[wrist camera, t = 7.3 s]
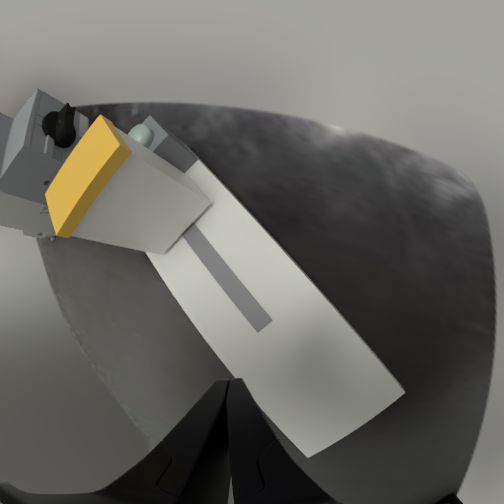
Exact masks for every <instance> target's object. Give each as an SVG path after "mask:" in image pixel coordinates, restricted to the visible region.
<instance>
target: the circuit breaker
mask: <svg viewBox="0 0 504 504" xmlns="http://www.w3.org/2000/svg"><path fill="white" fill-rule="evenodd" d="M88 129H89V119H88V118H87V117H85V116H83V115H82V114H80V113H78V112H77V111H75V107H73V108H72V107H70V105H69V103H67V104H66V105H65V104H63V103H62V102H60V101H58V100H57V99H55V98H53V97H52V96H50V95H48V94H47V93H45V92H42V91H41V90H39V89H37V90H36V91H35V92H34V93H33V95H32V96H31V97H30V98H29V100H28V101H27V102H26V103H25V105H24V106H23V108H22V109H21V110H20V111H19V113H18V114H17V116H16V117H15V118H14V119H13V118H10V117H9V116H6V115H4V114H2V113H0V225H1V226H5V227H10V228H14V229H19V230H23V234H24V235H27V236H32V237H37V238H42V239H44V238H45V237H51V240H52V241H53V240H55V236H56V233H55V230H54V226H53V223H52V220H51V216H50V212H49V209H48V205H47V201H46V197H45V193H46V192H47V190H48V188H49V187H50V185H51V183H52V182H53V180H54V178H55V177H56V175H57V174H58V172H59V170H60V169H61V167H62V166H63V164H64V163H65V161H66V160H67V158H68V157H69V155H70V154H71V152H72V151H73V150H74V148H75V147H76V145H77V144H78V143H79V141H80V140H81V139H82V137H83V136H84V135H85V133H86V132H87V131H88ZM40 232H42V233H43V234H42V235H41V234H39V233H40Z"/></svg>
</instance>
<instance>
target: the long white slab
mask: <svg viewBox="0 0 504 504" xmlns="http://www.w3.org/2000/svg"><path fill="white" fill-rule="evenodd" d="M128 136H130V137H131V138H133V139H134V140H136V141H137V142H139V143H140V144H142V145H143V146H145V147H146V148H148V149H149V150H151V151H152V152H154V153H155V154H157V155H158V156H160V157H161V158H162V159H164V160H165V161H167V162H168V163H170V164H171V165H173V166H174V167H176V168H177V169H179V170H180V171H182V172H183V173H184V174H186V175H187V176H189V178H190V179H191V180H192V181H193V182H194V183H195V185H196V186H197V187H198V188H199V189H200V190H201V191H202V193H203V194H204V195H205V196H206V197H207V198H208V200H209V201H210V202H211V204H210V205H209V206H208V207H207V208H206V209H205V210H204V211H203V212H202V213H201V214H200V215H199V216H198V217H197V218H196V219H195V220H194V222H193V223H192V224H191V225H190V226H189V227H188V228H187V229H186V230H185V231H184V232H183V233H182V234H181V235H180V236H179V237H178V238H177V240H176V241H175V242H174V243H173V244H172V245H171V246H170V247H169V248H168V249H167V250H166V251H165V253H164V254H163V255H160V254H155V253H150V252H146V254H147V255H148V257H149V259H150V260H151V262H152V263H153V265H154V266H155V268H156V270H157V271H158V273H159V274H160V276H161V277H162V279H163V280H164V282H165V283H166V285H167V286H168V288H169V289H170V291H171V292H172V294H173V295H174V297H175V298H176V300H177V301H178V303H179V304H180V305H181V307H182V308H183V310H184V311H185V313H186V314H187V315H188V317H189V318H190V320H191V321H192V322H193V324H194V325H195V327H196V328H197V329H198V331H199V332H200V333H201V335H202V336H203V337H204V339H205V340H206V341H207V343H208V344H209V345H210V347H211V348H212V349H213V351H214V352H215V353H216V354H217V356H218V357H219V358H220V360H221V361H222V362H223V363H224V365H225V366H226V367H227V368H228V370H229V371H230V372H231V373H232V375H233V376H234V377H235V378H242V379H243V380H244V382H245V384H246V386H247V387H248V389H249V391H250V393H251V394H252V396H253V398H254V400H255V401H256V403H257V404H258V405H259V407H260V408H261V409H262V410H263V411H264V412H265V413H266V415H267V416H268V417H269V418H270V419H271V420H272V421H273V422H274V423H275V424H276V426H277V427H278V428H279V429H280V430H281V431H282V432H283V433H284V434H285V435H286V436H287V437H288V438H289V439H290V440H291V441H292V442H293V443H294V445H295V446H296V447H297V448H298V449H299V450H300V451H301V452H302V453H303V454H304V455H305V456H306V457H307V458H309V457H311V456H313V455H314V454H316V453H318V452H320V451H322V450H323V449H325V448H327V447H329V446H330V445H332V444H334V443H335V442H337V441H339V440H340V439H342V438H344V437H345V436H347V435H348V434H350V433H351V432H353V431H354V430H356V429H357V428H359V427H360V426H362V425H363V424H365V423H366V422H368V421H369V420H371V419H372V418H373V417H375V416H376V415H378V414H379V413H380V412H382V411H383V410H384V409H386V408H387V407H388V406H389V405H391V404H392V403H393V402H395V401H396V400H397V399H398V398H400V397H401V396H402V395H403V394H404V393H405V391H404V389H403V388H402V386H401V384H400V383H399V382H398V381H397V379H396V378H395V377H394V376H393V375H392V373H391V372H390V371H389V370H388V369H387V367H386V366H385V365H384V364H383V363H382V361H381V360H380V359H379V358H378V357H377V355H376V354H375V353H374V352H373V351H372V349H371V348H370V347H369V346H368V345H367V344H366V342H365V341H364V340H363V339H362V338H361V336H360V335H359V334H358V333H357V332H356V331H355V329H354V328H353V327H352V326H351V325H350V324H349V322H348V321H347V320H346V319H345V318H344V317H343V315H342V314H341V313H340V312H339V311H338V310H337V309H336V307H335V306H334V305H333V304H332V303H331V302H330V301H329V299H328V298H327V297H326V296H325V295H324V294H323V293H322V291H321V290H320V289H319V288H318V287H317V286H316V285H315V283H314V282H313V281H312V280H311V279H310V278H309V277H308V276H307V274H306V273H305V272H304V271H303V270H302V269H301V268H300V267H299V265H298V264H297V263H296V262H295V261H294V260H293V259H292V258H291V257H290V255H289V254H288V253H287V252H286V251H285V250H284V249H283V248H282V247H281V245H280V244H279V243H278V242H277V241H276V240H275V239H274V238H273V237H272V236H271V235H270V233H269V232H268V231H267V230H266V229H265V228H264V227H263V226H262V225H261V224H260V223H259V221H258V220H257V219H256V218H255V217H254V216H253V215H252V214H251V213H250V212H249V211H248V210H247V208H246V207H245V206H244V205H243V204H242V203H241V202H240V201H239V200H238V199H237V198H236V197H235V196H234V195H233V193H232V192H231V191H230V190H229V189H228V188H227V187H226V186H225V185H224V184H223V183H222V182H221V181H220V180H219V179H218V178H217V177H216V176H215V174H214V173H213V172H212V171H211V170H210V169H209V168H208V167H207V166H206V165H205V164H204V163H203V162H202V161H201V160H200V159H199V158H198V157H197V156H196V155H195V154H194V153H193V152H192V150H191V149H190V148H189V147H187V146H186V145H185V144H184V143H183V142H182V141H180V140H179V139H178V138H177V137H176V136H174V135H173V134H172V133H171V132H170V131H168V130H167V129H166V128H165V127H164V126H162V125H161V124H160V123H159V122H157V121H156V120H155V119H154V118H153V117H151V116H149V117H148V118H147V119H146V120H145V121H144V122H143V123H142V124H139V125H136V126H135V127H134V128H132V129H131V131H130V132H129V133H128Z"/></svg>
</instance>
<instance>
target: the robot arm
mask: <svg viewBox="0 0 504 504" xmlns="http://www.w3.org/2000/svg"><path fill="white" fill-rule="evenodd" d="M231 477H232V487H233V496H234V504H342V503H340V502H338V501H336V500H335V499H333V498H332V497H331V496H329V495H328V494H327V493H326V492H324V491H323V490H322V489H321V488H320V487H319V486H318V485H317V484H316V483H315V482H314V481H313V480H312V479H311V478H310V477H309V476H308V475H307V474H306V473H305V472H304V471H303V470H302V469H301V468H300V467H299V466H298V465H297V464H296V462H295V461H294V460H293V459H292V458H291V457H290V455H289V454H288V452H287V451H286V450H285V448H284V447H283V445H282V444H281V442H280V441H279V439H278V438H277V436H276V435H275V433H274V431H273V430H272V428H271V426H270V425H269V423H268V422H267V420H266V418H265V417H264V415H263V413H262V412H261V410H260V408H259V406H258V405H257V403H256V401H255V400H254V398H253V396H252V394H251V393H250V391H249V389H248V387H247V386H246V384H245V382H244V380H243V379H242V378H232V379H230V380H229V379H218V380H216V381H215V383H214V384H213V385H212V386H211V387H210V388H209V389H208V391H207V392H206V393H205V394H204V395H203V396H202V397H201V399H200V400H199V401H198V402H197V403H196V404H195V405H194V406H193V407H192V409H191V410H190V411H189V412H188V413H187V414H186V415H185V416H184V417H183V418H182V420H181V421H180V422H179V423H178V424H177V425H176V426H175V427H174V428H173V429H172V430H171V431H170V432H169V434H168V435H167V436H166V437H165V438H164V439H163V441H161V442H160V443H159V444H158V445H157V446H156V447H155V448H154V449H153V450H152V451H151V452H150V453H149V454H148V455H147V456H146V457H144V458H143V459H142V460H141V461H140V462H138V463H137V464H136V465H135V466H133V467H132V468H131V469H130V470H128V471H127V472H126V473H124V474H123V475H122V476H120V477H119V478H118V479H116V480H115V481H113V482H112V483H110V484H109V485H108V486H106V487H104V488H102V489H100V490H97V491H94V492H90V493H78V494H33V493H28V492H24V491H21V490H19V489H17V488H16V487H14V486H13V485H11V484H9V483H7V482H0V502H1V503H3V504H228V496H229V487H230V479H231ZM437 504H463V503H462V502H461V501H460V500H459V499H458V497H457V496H456V495H455V494H452V495H450V496H448V497H446V498H445V499H443V500H442V501H440V502H439V503H437Z"/></svg>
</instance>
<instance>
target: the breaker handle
mask: <svg viewBox="0 0 504 504" xmlns="http://www.w3.org/2000/svg"><path fill="white" fill-rule="evenodd" d="M45 197H46V201H47V205H48V209H49V212H50V216H51V220H52V223H53V226H54V230H55V233H56V236H60V237H65V238H70V236H74V237H79V238H83V239H88V240H92V241H97V242H102V243H107V244H111V245H116V246H121V247H126V248H131V249H135V250H140V251H145V252H150V253H155V254H160V255H163V254H164V253H165V251H166V250H167V249H168V248H169V247H170V246H171V245H172V244H173V243H174V242H175V241H176V240H177V238H178V237H179V236H180V235H181V234H182V233H183V232H184V231H185V230H186V229H187V228H188V227H189V226H190V225H191V224H192V223H193V222H194V220H195V219H196V218H197V217H198V216H199V215H200V214H201V213H202V212H203V211H204V210H205V209H206V208H207V207H208V206H209V205H210V204H211V202H210V201H209V200H208V198H207V197H206V196H205V195H204V194H203V193H202V191H201V190H200V189H199V188H198V187H197V186H196V185H195V183H194V182H193V181H192V180H191V179H190V178H189V176H187V175H186V174H184V173H183V172H182V171H180V170H179V169H177V168H176V167H174V166H173V165H171V164H170V163H168V162H167V161H165V160H164V159H162V158H161V157H160V156H158V155H157V154H155V153H154V152H152V151H151V150H149V149H148V148H146V147H145V146H143V145H142V144H140V143H139V142H137V141H136V140H134V139H133V138H131V137H130V136H128V135H127V134H125V133H124V132H122V131H121V130H119V129H117V128H116V127H114V125H113V124H112V122H111V121H110V120H108V119H107V118H105V117H103V116H102V115H100V116H99V117H98V118H97V119H96V120H95V122H94V123H93V124H92V125H91V127H90V128H89V129H88V131H87V132H86V133H85V135H84V136H83V137H82V139H81V140H80V141H79V143H78V144H77V145H76V147H75V148H74V150H73V151H72V152H71V154H70V155H69V157H68V158H67V160H66V161H65V163H64V164H63V166H62V167H61V169H60V170H59V172H58V174H57V175H56V177H55V178H54V180H53V182H52V183H51V185H50V187H49V188H48V190H47V192H46V193H45Z"/></svg>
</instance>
